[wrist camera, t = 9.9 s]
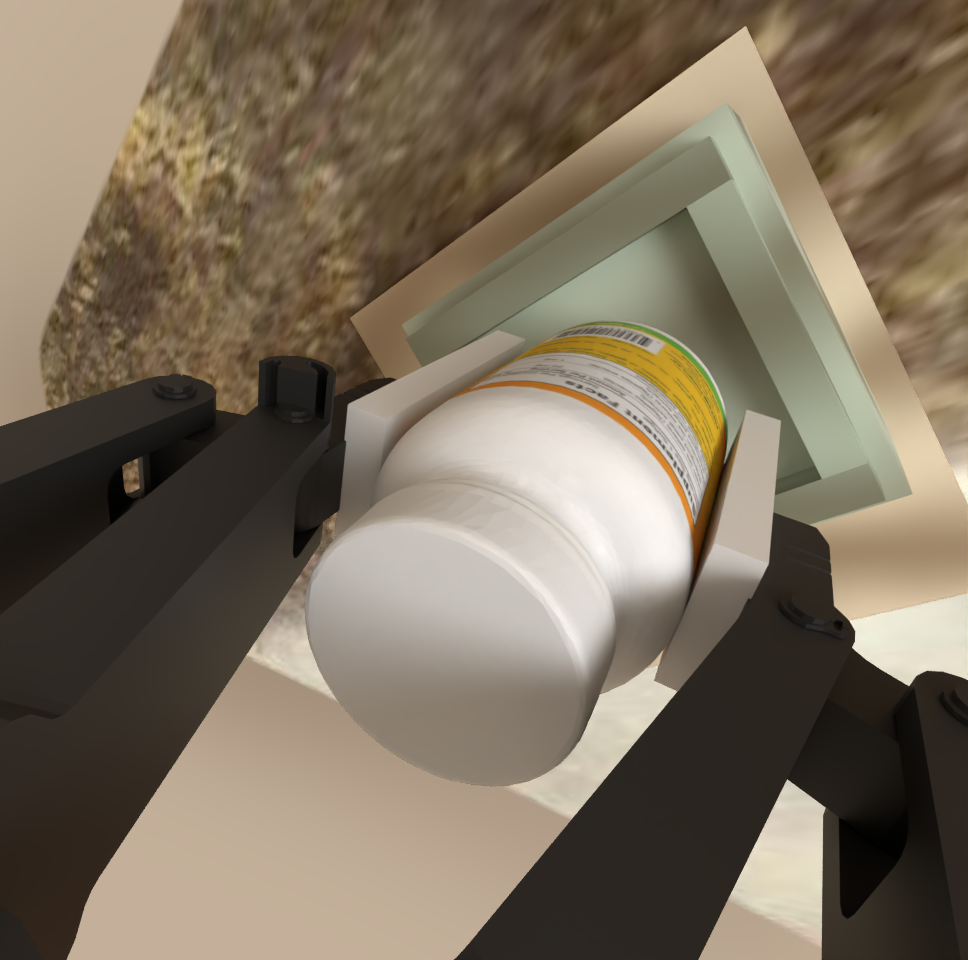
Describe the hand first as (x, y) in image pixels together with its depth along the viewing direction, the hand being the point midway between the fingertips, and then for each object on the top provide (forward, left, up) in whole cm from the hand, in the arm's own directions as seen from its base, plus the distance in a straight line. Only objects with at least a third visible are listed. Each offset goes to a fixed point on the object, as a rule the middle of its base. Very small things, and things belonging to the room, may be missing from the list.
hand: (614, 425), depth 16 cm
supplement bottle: (0, 0, -1) cm, 1 cm away
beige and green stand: (-2, +2, -8) cm, 9 cm away
